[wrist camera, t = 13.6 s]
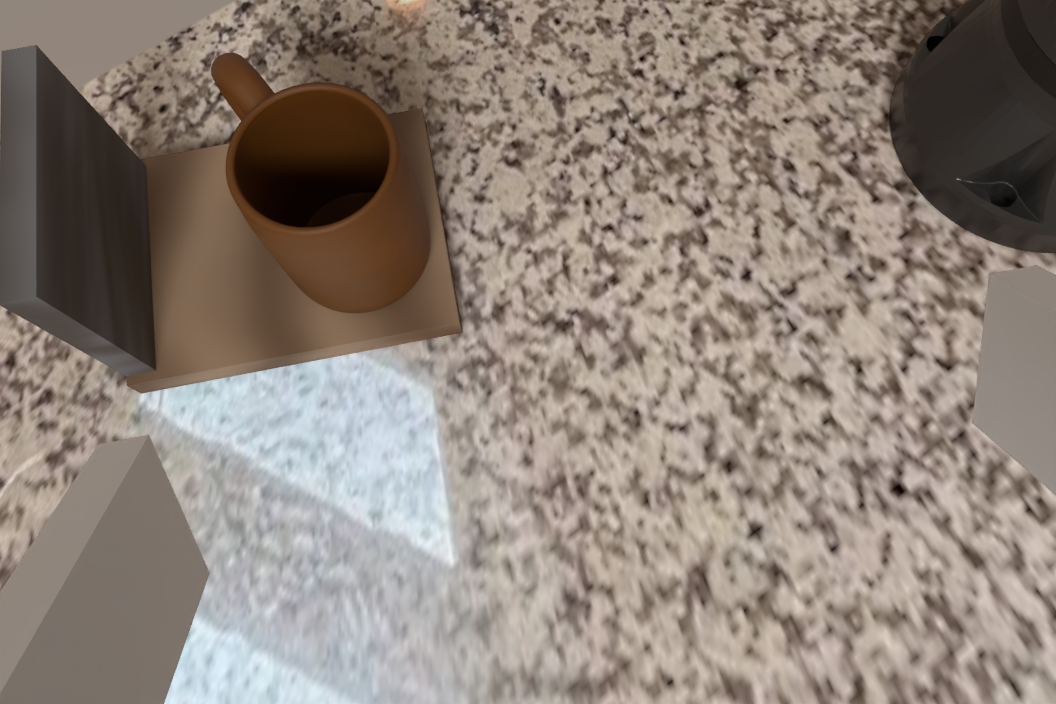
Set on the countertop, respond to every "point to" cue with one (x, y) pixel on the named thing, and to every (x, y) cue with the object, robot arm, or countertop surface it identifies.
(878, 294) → the countertop surface
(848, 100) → the countertop surface
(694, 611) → the countertop surface
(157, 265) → the shelf
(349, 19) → the countertop surface
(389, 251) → the mug
